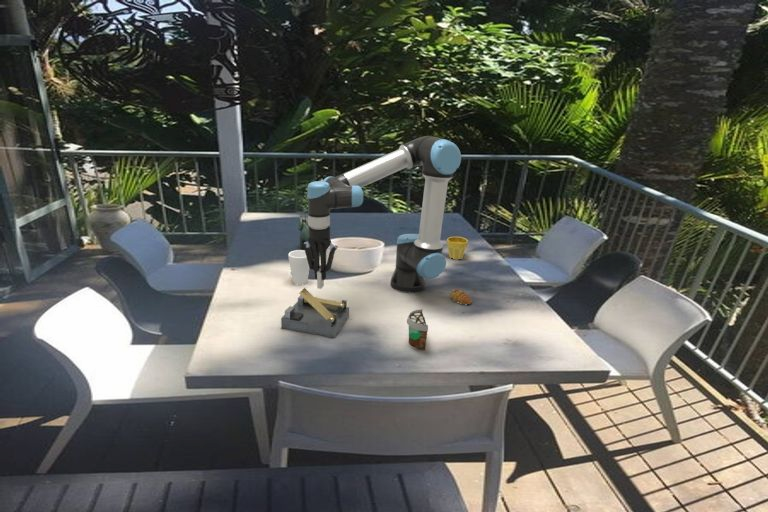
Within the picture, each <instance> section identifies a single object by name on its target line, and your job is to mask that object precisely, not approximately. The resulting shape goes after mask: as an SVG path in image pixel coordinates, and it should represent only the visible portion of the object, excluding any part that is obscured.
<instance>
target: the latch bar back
mask: <svg viewBox="0 0 768 512" xmlns="http://www.w3.org/2000/svg"><path fill="white" fill-rule="evenodd" d="M314 297H315V296H314ZM315 298H316V299H317V300H318V301H319V302H320V303H321V304H322V305H323V306H327V307H332V308H338V305H340V306H343V308H344V306H345V305H346V304H345V303H344V302H342V301H337V300H331V299H327V298H321V297H315ZM304 302H307V303H309V302H308V301H307V300H305V299H304Z"/></svg>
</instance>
